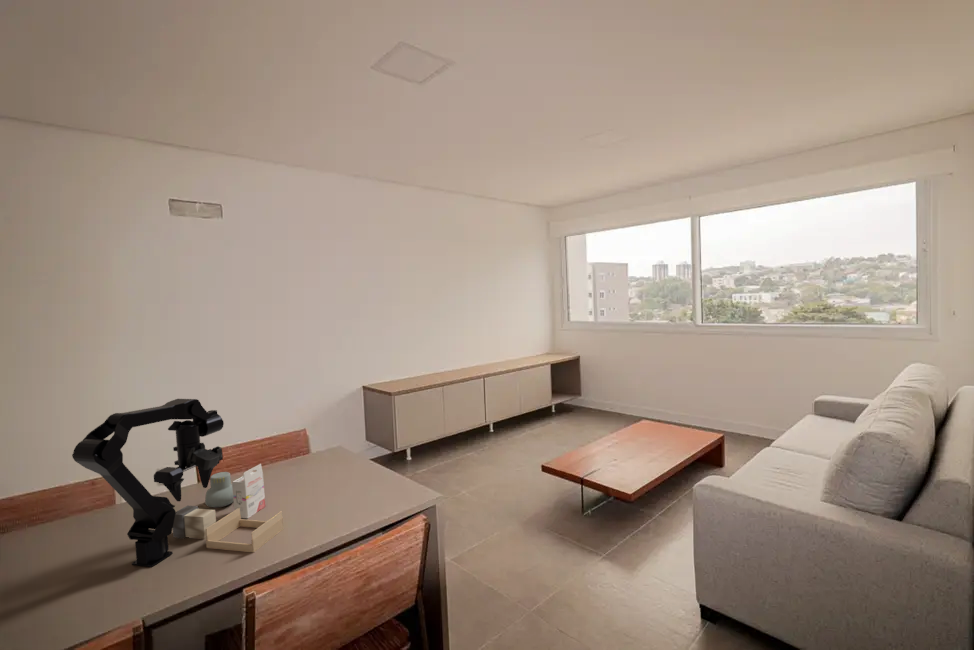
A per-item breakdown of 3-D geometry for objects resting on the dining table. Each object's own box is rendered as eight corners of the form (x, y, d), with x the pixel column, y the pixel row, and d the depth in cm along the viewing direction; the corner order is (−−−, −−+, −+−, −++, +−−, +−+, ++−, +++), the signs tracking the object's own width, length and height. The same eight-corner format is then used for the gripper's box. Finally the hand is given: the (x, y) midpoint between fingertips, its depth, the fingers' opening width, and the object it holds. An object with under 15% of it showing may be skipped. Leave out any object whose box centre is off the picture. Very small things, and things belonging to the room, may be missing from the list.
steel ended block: (218, 530, 137) (216, 507, 137) (203, 540, 132) (201, 516, 132) (189, 528, 139) (187, 505, 139) (173, 537, 134) (171, 514, 134)
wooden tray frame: (253, 552, 125) (252, 532, 124) (206, 547, 128) (205, 528, 127) (283, 529, 137) (282, 510, 137) (239, 525, 140) (238, 507, 140)
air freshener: (233, 508, 152) (231, 478, 151) (204, 513, 149) (202, 483, 148) (238, 495, 162) (236, 467, 161) (211, 499, 159) (209, 471, 158)
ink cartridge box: (252, 505, 153) (249, 462, 152) (265, 506, 152) (263, 462, 151) (233, 518, 145) (230, 472, 144) (247, 519, 144) (244, 473, 143)
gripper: (184, 454, 123) (188, 511, 124) (236, 433, 141) (239, 482, 142) (149, 452, 125) (154, 508, 127) (205, 431, 144) (209, 480, 145)
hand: (192, 494), depth 135 cm, fingers open, 9 cm apart
